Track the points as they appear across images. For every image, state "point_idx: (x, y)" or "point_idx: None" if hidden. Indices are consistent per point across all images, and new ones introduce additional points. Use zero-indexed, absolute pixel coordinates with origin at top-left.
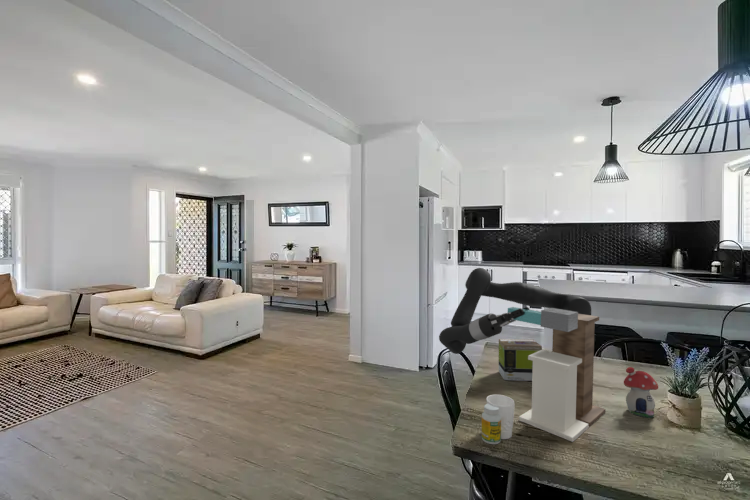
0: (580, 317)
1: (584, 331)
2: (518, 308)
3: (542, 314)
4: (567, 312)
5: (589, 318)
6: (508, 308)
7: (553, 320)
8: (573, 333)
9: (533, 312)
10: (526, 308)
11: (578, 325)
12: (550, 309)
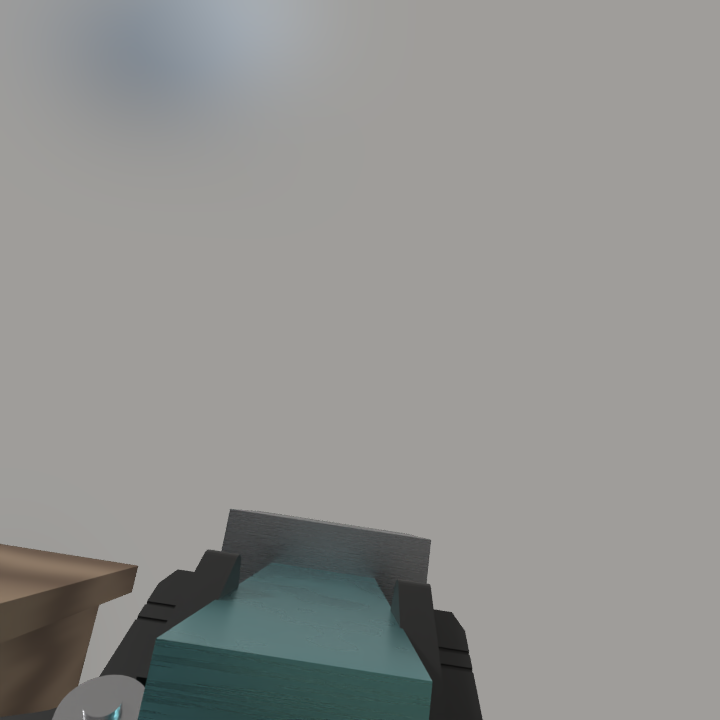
0: (20, 559)
1: (84, 651)
2: (258, 615)
3: (425, 575)
4: (330, 522)
5: (36, 553)
6: (427, 680)
7: None
8: (36, 710)
9: (368, 589)
10: (236, 576)
11: (76, 621)
12: (320, 522)
